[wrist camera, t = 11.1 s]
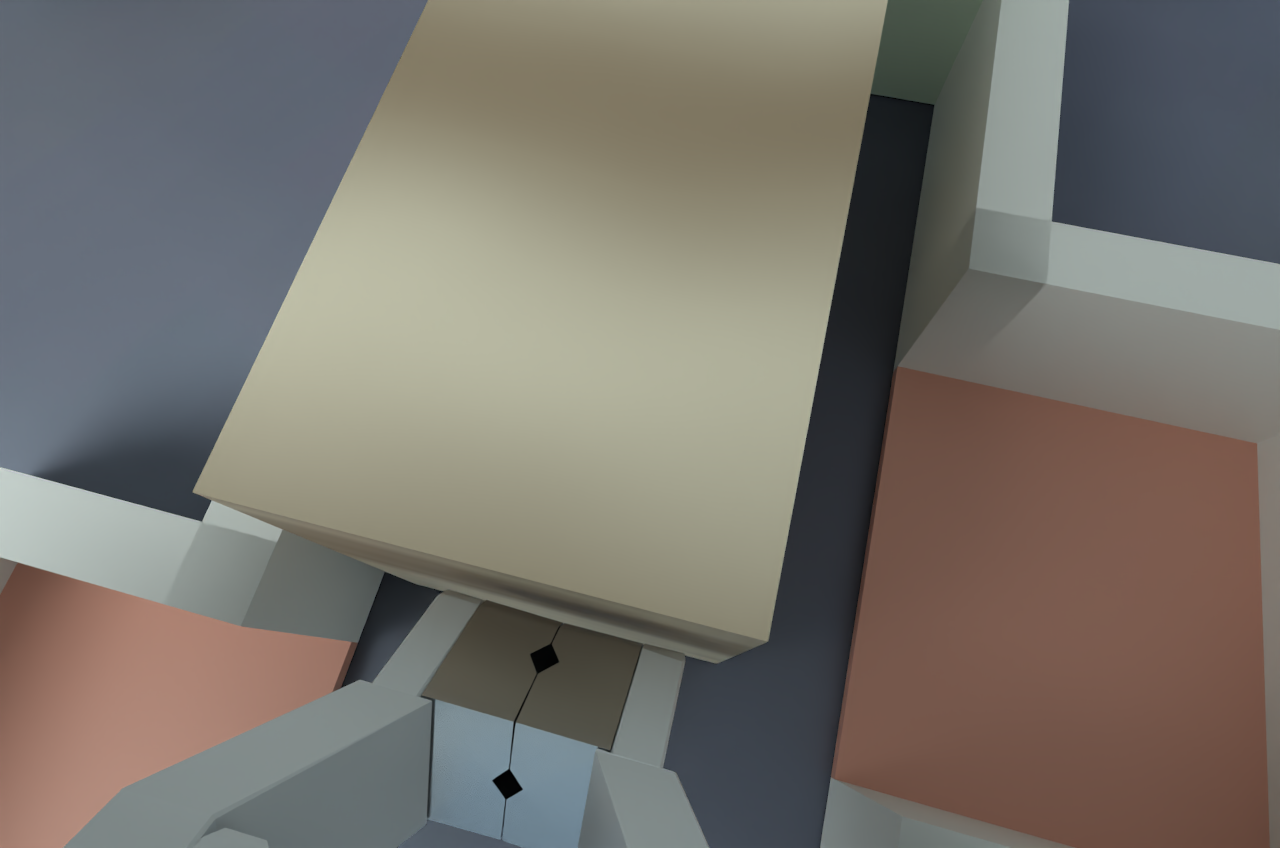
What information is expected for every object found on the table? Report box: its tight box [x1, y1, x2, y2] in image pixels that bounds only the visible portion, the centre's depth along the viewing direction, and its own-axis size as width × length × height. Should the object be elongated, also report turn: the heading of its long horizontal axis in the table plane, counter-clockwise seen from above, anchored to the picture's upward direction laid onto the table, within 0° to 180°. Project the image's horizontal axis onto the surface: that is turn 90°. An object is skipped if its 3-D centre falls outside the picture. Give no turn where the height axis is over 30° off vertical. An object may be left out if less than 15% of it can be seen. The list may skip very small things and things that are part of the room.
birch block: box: [193, 0, 888, 664], centre depth 12 cm, size 12×6×7 cm, turn 166°
